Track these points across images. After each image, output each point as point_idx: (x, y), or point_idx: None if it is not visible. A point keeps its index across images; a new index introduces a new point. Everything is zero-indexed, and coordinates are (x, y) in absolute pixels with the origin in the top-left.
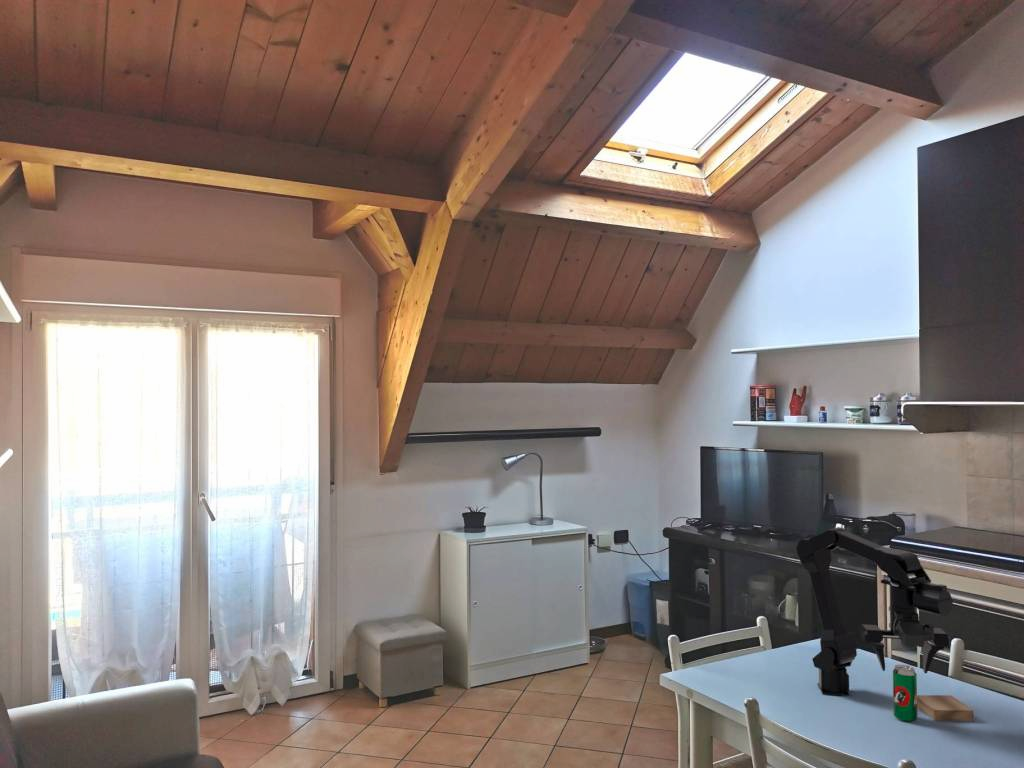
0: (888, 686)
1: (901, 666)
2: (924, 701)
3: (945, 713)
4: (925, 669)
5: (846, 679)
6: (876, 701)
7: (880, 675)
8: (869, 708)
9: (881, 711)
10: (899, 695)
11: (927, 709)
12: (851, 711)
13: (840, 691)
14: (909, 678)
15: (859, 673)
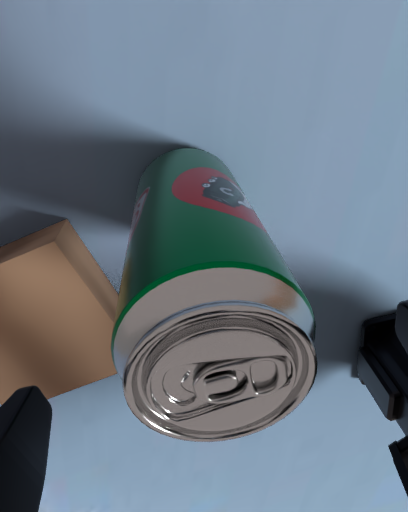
0: None
1: (247, 401)
2: (105, 321)
3: (13, 253)
4: (14, 416)
5: (392, 376)
6: None
7: (230, 478)
8: (315, 244)
9: (274, 232)
10: (236, 194)
11: (95, 280)
12: (398, 183)
13: (394, 328)
14: (178, 257)
15: (284, 470)
